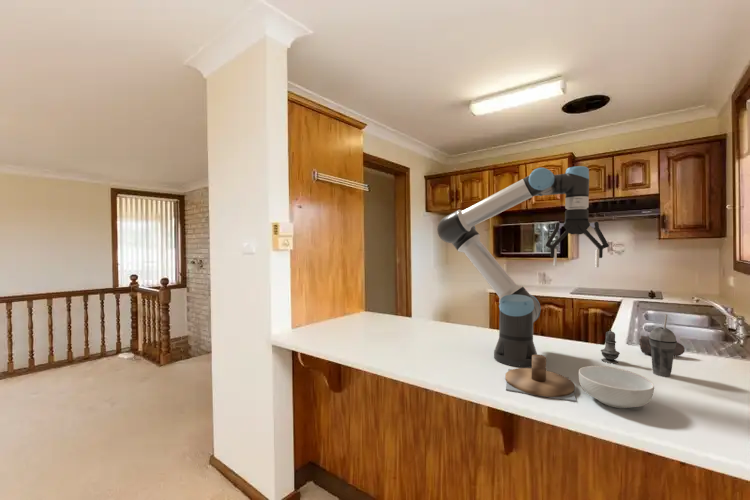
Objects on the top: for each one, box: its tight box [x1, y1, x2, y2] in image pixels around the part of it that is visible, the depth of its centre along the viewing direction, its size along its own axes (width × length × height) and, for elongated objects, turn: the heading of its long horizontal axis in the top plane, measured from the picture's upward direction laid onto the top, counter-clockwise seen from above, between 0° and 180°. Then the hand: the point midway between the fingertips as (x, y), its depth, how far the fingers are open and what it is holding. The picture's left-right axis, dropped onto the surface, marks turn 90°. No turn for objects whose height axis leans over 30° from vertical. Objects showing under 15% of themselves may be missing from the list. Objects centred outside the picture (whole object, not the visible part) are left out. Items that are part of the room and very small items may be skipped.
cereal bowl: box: [578, 365, 655, 409], centre depth 95 cm, size 17×17×7 cm
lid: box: [504, 354, 575, 398], centre depth 107 cm, size 19×19×8 cm
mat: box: [505, 368, 577, 403], centre depth 107 cm, size 18×18×1 cm
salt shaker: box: [600, 328, 620, 365], centre depth 128 cm, size 6×6×12 cm
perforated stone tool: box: [638, 335, 686, 357], centre depth 136 cm, size 15×5×7 cm, turn 69°
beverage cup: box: [648, 314, 678, 378], centre depth 116 cm, size 7×7×20 cm
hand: (575, 266), depth 129 cm, fingers open, 13 cm apart
